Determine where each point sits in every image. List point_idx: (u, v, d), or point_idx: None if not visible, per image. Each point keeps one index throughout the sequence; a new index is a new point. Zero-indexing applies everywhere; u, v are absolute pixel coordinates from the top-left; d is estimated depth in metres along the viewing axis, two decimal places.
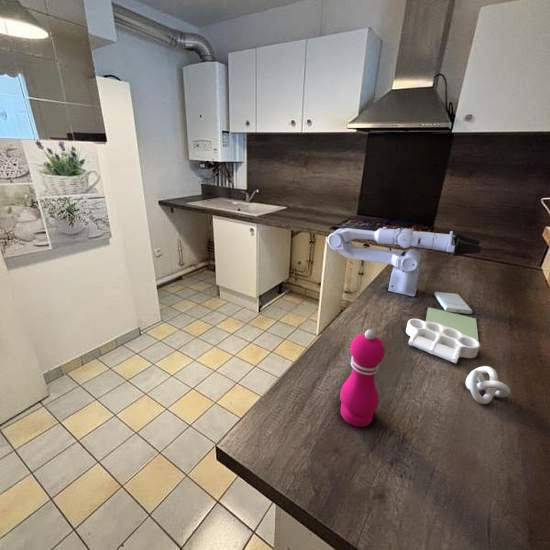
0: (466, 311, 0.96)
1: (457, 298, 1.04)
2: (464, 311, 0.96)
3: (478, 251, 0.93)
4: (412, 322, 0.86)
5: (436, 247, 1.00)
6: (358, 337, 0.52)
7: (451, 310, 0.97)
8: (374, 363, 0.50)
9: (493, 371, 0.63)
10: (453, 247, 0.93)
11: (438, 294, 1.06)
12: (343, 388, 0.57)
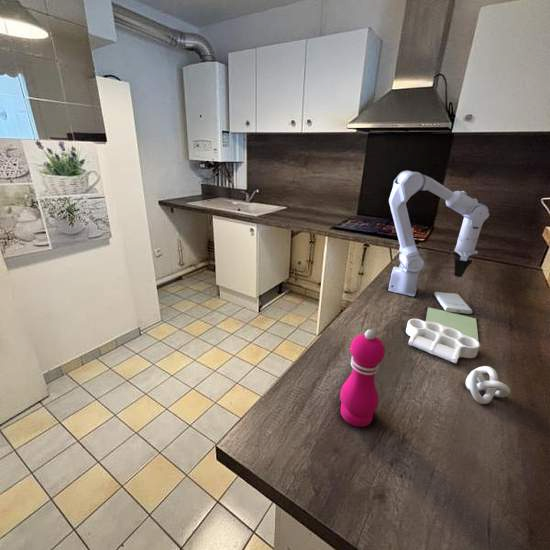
0: (466, 311, 0.96)
1: (457, 298, 1.04)
2: (464, 311, 0.96)
3: (456, 275, 1.04)
4: (412, 322, 0.86)
5: (462, 242, 1.01)
6: (358, 337, 0.52)
7: (451, 310, 0.97)
8: (374, 363, 0.50)
9: (493, 371, 0.63)
10: (465, 260, 0.98)
11: (438, 294, 1.06)
12: (343, 388, 0.57)
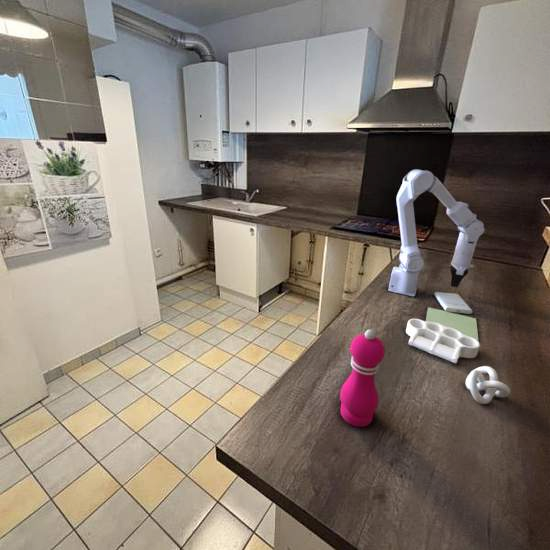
0: (466, 311, 0.96)
1: (457, 298, 1.04)
2: (464, 311, 0.96)
3: (452, 285, 1.09)
4: (412, 322, 0.86)
5: (458, 256, 1.03)
6: (358, 337, 0.52)
7: (451, 310, 0.97)
8: (374, 363, 0.50)
9: (493, 371, 0.63)
10: (461, 274, 1.00)
11: (438, 294, 1.06)
12: (343, 388, 0.57)
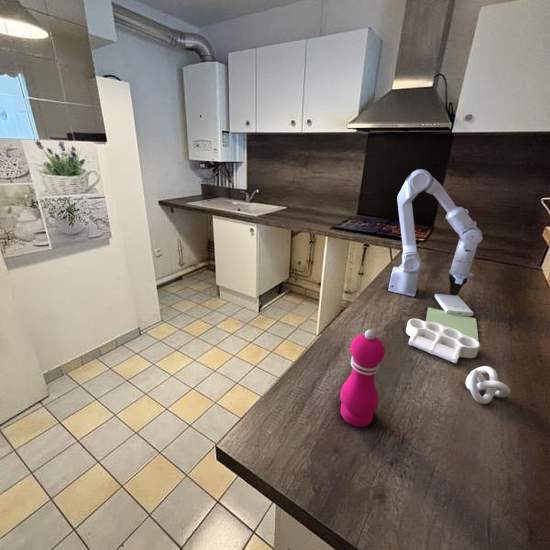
0: (467, 313, 0.95)
1: (458, 299, 1.02)
2: (465, 313, 0.95)
3: (451, 293, 1.06)
4: (412, 322, 0.86)
5: (457, 264, 1.00)
6: (358, 337, 0.52)
7: (452, 312, 0.96)
8: (374, 363, 0.50)
9: (493, 371, 0.63)
10: (460, 283, 0.97)
11: (438, 296, 1.05)
12: (343, 388, 0.57)
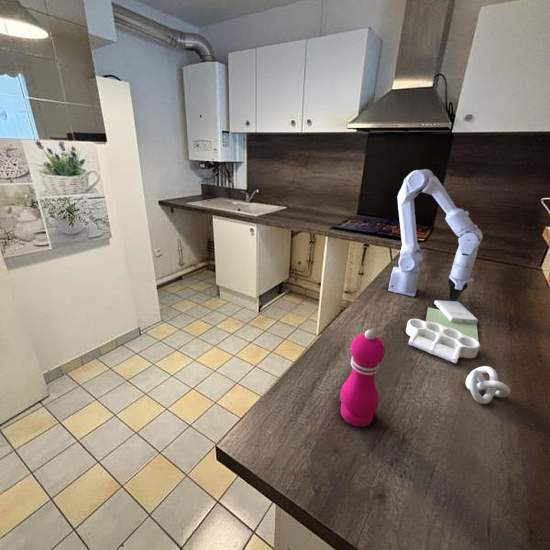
0: (472, 321, 0.90)
1: (459, 306, 0.98)
2: (470, 321, 0.90)
3: (451, 299, 1.02)
4: (412, 322, 0.86)
5: (457, 269, 0.96)
6: (358, 337, 0.52)
7: (457, 320, 0.91)
8: (374, 363, 0.50)
9: (493, 371, 0.63)
10: (460, 289, 0.93)
11: (439, 303, 1.00)
12: (343, 388, 0.57)
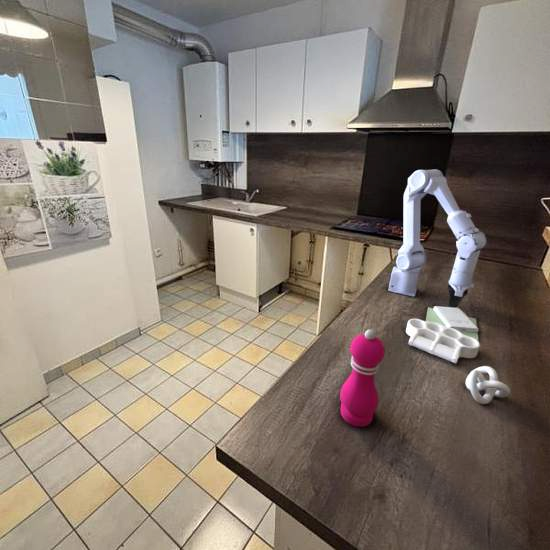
0: (472, 330, 0.86)
1: (460, 313, 0.94)
2: (470, 330, 0.86)
3: (450, 306, 0.98)
4: (412, 322, 0.86)
5: (457, 275, 0.92)
6: (358, 337, 0.52)
7: None
8: (374, 363, 0.50)
9: (493, 371, 0.63)
10: (460, 295, 0.89)
11: (438, 309, 0.96)
12: (343, 388, 0.57)
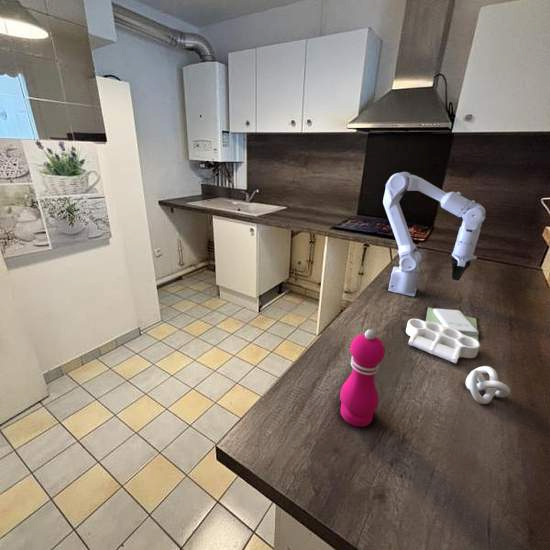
0: (472, 333, 0.84)
1: (460, 315, 0.92)
2: (469, 333, 0.84)
3: (453, 278, 1.01)
4: (412, 322, 0.86)
5: (460, 246, 0.95)
6: (358, 337, 0.52)
7: None
8: (374, 363, 0.50)
9: (493, 371, 0.63)
10: (463, 265, 0.92)
11: (438, 311, 0.94)
12: (343, 388, 0.57)
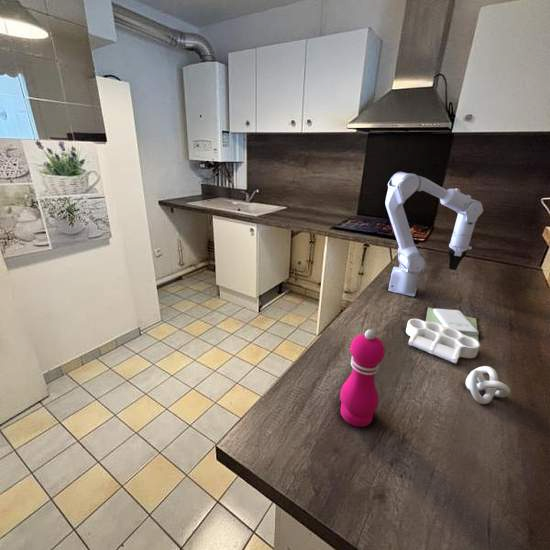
0: (472, 333, 0.84)
1: (460, 315, 0.92)
2: (469, 333, 0.84)
3: (451, 268, 1.08)
4: (412, 322, 0.86)
5: (456, 238, 1.03)
6: (358, 337, 0.52)
7: None
8: (374, 363, 0.50)
9: (493, 371, 0.63)
10: (459, 255, 1.00)
11: (438, 311, 0.94)
12: (343, 388, 0.57)
